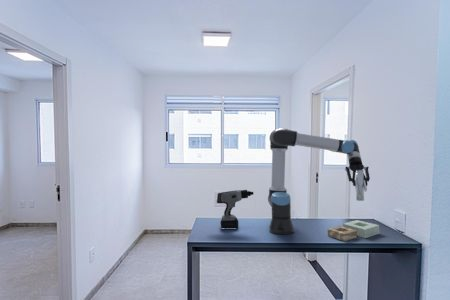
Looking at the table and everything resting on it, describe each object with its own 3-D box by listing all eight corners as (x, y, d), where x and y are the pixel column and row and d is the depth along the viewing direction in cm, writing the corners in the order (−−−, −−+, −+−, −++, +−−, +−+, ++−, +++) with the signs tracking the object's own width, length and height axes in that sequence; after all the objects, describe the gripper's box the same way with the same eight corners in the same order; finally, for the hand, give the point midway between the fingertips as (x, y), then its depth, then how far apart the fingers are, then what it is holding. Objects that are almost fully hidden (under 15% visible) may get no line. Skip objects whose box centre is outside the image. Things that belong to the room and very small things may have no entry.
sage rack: (343, 231, 166) (343, 223, 166) (357, 227, 173) (357, 219, 173) (365, 238, 154) (364, 229, 154) (379, 233, 161) (378, 225, 161)
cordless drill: (254, 229, 175) (253, 190, 175) (216, 229, 176) (215, 191, 175) (253, 225, 183) (252, 188, 183) (217, 226, 184) (216, 189, 183)
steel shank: (355, 200, 164) (354, 170, 163) (359, 199, 166) (358, 169, 165) (361, 201, 160) (360, 170, 160) (365, 200, 162) (364, 170, 162)
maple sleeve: (327, 235, 160) (327, 229, 160) (339, 232, 165) (339, 225, 165) (344, 241, 150) (344, 234, 150) (356, 237, 156) (356, 230, 156)
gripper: (368, 163, 176) (376, 194, 160) (340, 164, 180) (345, 193, 164) (370, 156, 170) (378, 186, 155) (341, 156, 175) (346, 186, 159)
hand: (361, 190), depth 159 cm, fingers closed on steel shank, 4 cm apart
